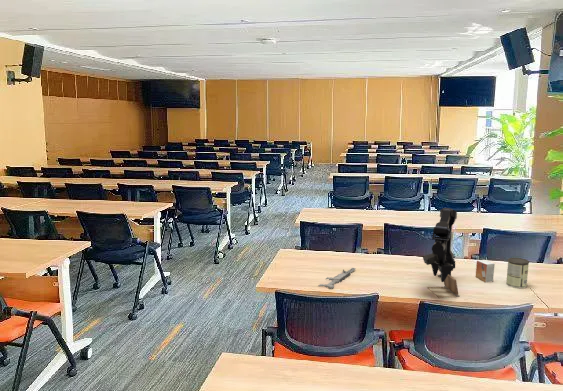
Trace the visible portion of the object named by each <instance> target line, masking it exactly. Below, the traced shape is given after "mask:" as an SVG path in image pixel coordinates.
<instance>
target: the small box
mask: <svg viewBox="0 0 563 391" xmlns="http://www.w3.org/2000/svg"><path fill="white" fill-rule="evenodd" d="M495 265H496V263H495V262H491V261H489V260H486V259H480V260H479V259H478V260H476V266H475V267H476V268H475V269H476V270H475V275H474V276H475V278H476V279H477V280H479V281H481V282H483V283H492V282H494V275H495Z"/></svg>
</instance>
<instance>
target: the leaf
mask: <svg viewBox="0 0 563 391" xmlns="http://www.w3.org/2000/svg"><path fill="white" fill-rule="evenodd" d="M443 285H444V286H446V287H447V288H448V289H447V290H448V291H450V292H451V293H452V294H453V293H455V294H456V295H459V290H458V283H457V279H456V278H454V277H453V276H452V275H451V276H450V275H449V274H448V276H447V277H446V279H445V281H444V282H443Z"/></svg>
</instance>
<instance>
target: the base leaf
mask: <svg viewBox="0 0 563 391" xmlns="http://www.w3.org/2000/svg"><path fill="white" fill-rule="evenodd" d="M427 289H428V290H430V291H431V292H432V293H433V294H434V295H435V296H436V297H438V299H439V298H460V295H459V294H458V295H456V294H455V293H453V294H452V293H451V292H450V291H448V290H447V289H448V288H447V287H446V286H445V285H444V286H428V287H427Z"/></svg>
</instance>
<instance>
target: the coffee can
mask: <svg viewBox="0 0 563 391" xmlns="http://www.w3.org/2000/svg"><path fill="white" fill-rule="evenodd" d="M529 263H530V261H529V260H528V259H526V258H521V257H520V258H519V257H509V258H508V259H507V269H506V270H507V271H506V272H507V273H506V285H507V286H508V287H509V288H513V289H526V288H527V287H528V276H529V275H528V274H529Z"/></svg>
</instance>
